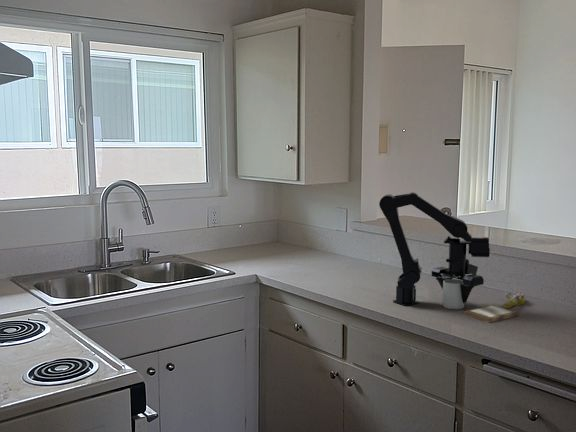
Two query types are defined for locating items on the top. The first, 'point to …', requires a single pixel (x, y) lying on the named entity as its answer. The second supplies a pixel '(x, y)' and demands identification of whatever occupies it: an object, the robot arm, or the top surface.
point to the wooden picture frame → (491, 313)
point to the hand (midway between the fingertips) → (455, 300)
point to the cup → (452, 294)
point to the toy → (514, 299)
